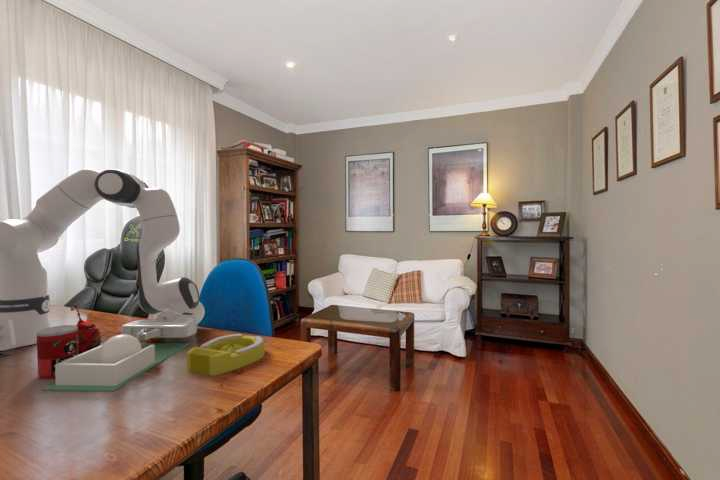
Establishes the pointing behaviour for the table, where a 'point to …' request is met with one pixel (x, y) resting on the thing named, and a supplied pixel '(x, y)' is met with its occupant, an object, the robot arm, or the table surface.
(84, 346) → the red clay folk toy
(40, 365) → the canned food
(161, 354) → the green mat
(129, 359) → the white chevron barrier
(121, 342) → the ball
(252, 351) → the olive green tray
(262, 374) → the table surface
